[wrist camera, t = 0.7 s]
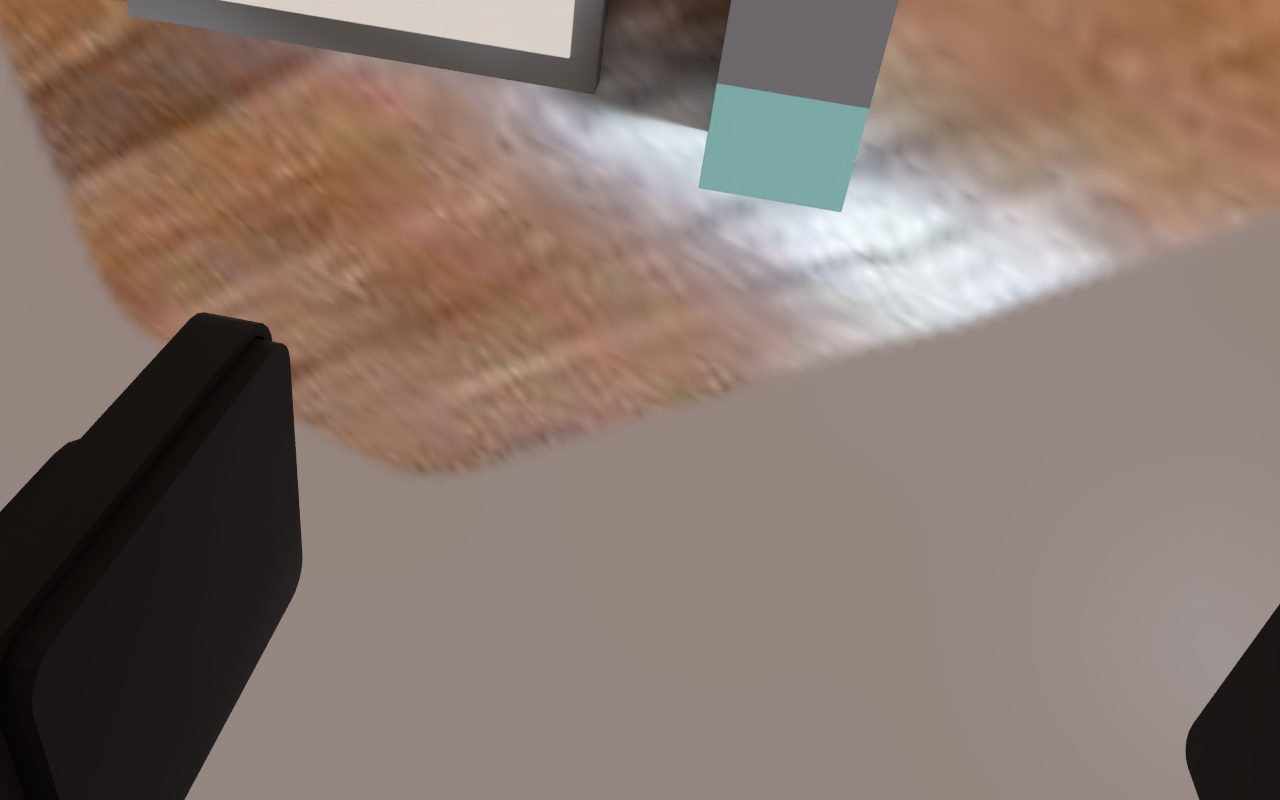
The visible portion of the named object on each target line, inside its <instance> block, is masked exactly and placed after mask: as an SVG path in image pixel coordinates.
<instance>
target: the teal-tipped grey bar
mask: <svg viewBox="0 0 1280 800" xmlns="http://www.w3.org/2000/svg"><path fill="white" fill-rule="evenodd" d="M897 3H898V0H731V4H730V9H729V15H728V21H727V27H726V32H725V38H724V44H723V50H722V55H721V61H720V67H719V72H718V78H717V84H716V90H715V95H714V101H713V107H712V113H711V118H710V124H709V130H708V136H707V141H706V147H705V153H704V159H703V165H702V171H701V176H700V182H699V188H702V189H707V190H713V191H719V192H725V193H731V194H737V195H743V196H749V197H755V198H760V199H766V200H772V201H778V202H784V203H790V204H796V205H802V206H808V207H814V208H819V209H825V210H831V211H837V212H841V211H842V207H843V203H844V200H845V196H846V192H847V189H848V185H849V181H850V178H851V174H852V170H853V166H854V163H855V159H856V155H857V152H858V148H859V144H860V140H861V137H862V133H863V129H864V126H865V122H866V118H867V114H868V111H869V107H870V103H871V100H872V96H873V92H874V88H875V85H876V81H877V77H878V74H879V70H880V66H881V62H882V59H883V55H884V51H885V48H886V44H887V40H888V37H889V33H890V29H891V25H892V22H893V18H894V14H895V11H896V7H897Z"/></svg>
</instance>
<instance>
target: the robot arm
mask: <svg viewBox="0 0 1280 800" xmlns="http://www.w3.org/2000/svg"><path fill="white" fill-rule="evenodd" d="M297 479H298V478H297V463H296V447H295V431H294V415H293V400H292V384H291V368H290V357H289V351H288V349H287V347H286V346H285V345H284V344H282V343H277V342H272V337H271V333H270V331H269V329H268V327H267V326H265V325H264V324H263V323H257V322H252V321H247V320H241V319H236V318H231V317H225V316H220V315H215V314H209V313H197V314H196V315H195V316H193V317H192V318H191V319H190V320H189V321H188V322H187V323H186V324H185V325H184V326H183V327H182V328H181V329H180V331H179V332H178V333H177V334H176V335H175V336H174V337H173V338H172V339H171V340H170V341H169V343H168V344H167V345H166V346H165V347H164V348H163V349H162V350H161V351H160V352H159V353H158V355H157V356H156V357H155V358H154V359H153V360H152V361H151V362H150V363H149V364H148V366H147V367H146V368H145V369H144V370H143V371H142V372H141V373H140V374H139V375H138V377H136V379H135V380H134V381H133V382H132V383H131V384H130V385H129V386H128V387H127V389H126V390H125V391H124V392H123V393H122V394H121V395H120V396H119V397H118V398H117V399H116V400H115V401H114V403H113V404H112V405H111V406H110V407H109V408H108V409H107V410H106V411H105V412H104V414H103V415H102V416H101V417H100V418H99V419H98V420H97V421H96V422H95V423H94V424H93V426H92V427H91V428H90V429H89V430H88V431H87V432H86V433H85V434H84V435H83V436H82V438H81V439H78V440H75V441H72V442H69V443H67V444H66V445H65V446H63V447H62V448H61V449H60V450H58V451H57V452H56V453H55V454H54V455H53V456H52V457H51V458H50V459H49V460H48V461H47V462H46V463H45V464H44V465H43V467H42V468H41V469H40V470H39V471H38V472H37V473H36V474H35V475H34V476H33V477H32V478H31V479H30V480H29V481H28V483H27V484H26V485H25V486H24V487H23V488H22V489H21V490H20V491H19V492H18V493H17V495H16V496H15V497H14V498H13V499H12V500H11V501H10V502H9V503H8V504H7V505H6V506H5V507H4V508H3V509H2V511H1V512H0V800H184V799H185V798H186V796H187V794H188V792H189V790H190V788H191V786H192V784H193V783H194V781H195V779H196V777H197V775H198V773H199V772H200V770H201V768H202V766H203V764H204V762H205V760H206V758H207V756H208V755H209V753H210V751H211V749H212V747H213V745H214V743H215V742H216V740H217V738H218V736H219V734H220V732H221V730H222V728H223V727H224V724H225V723H226V721H227V719H228V717H229V715H230V713H231V712H232V710H233V708H234V706H235V704H236V702H237V700H238V698H239V697H240V695H241V693H242V691H243V689H244V687H245V685H246V683H247V682H248V680H249V678H250V676H251V674H252V672H253V670H254V669H255V667H256V665H257V663H258V661H259V659H260V657H261V655H262V653H263V652H264V650H265V648H266V646H267V644H268V642H269V640H270V638H271V637H272V635H273V633H274V631H275V629H276V627H277V626H278V624H279V622H280V620H281V618H282V616H283V614H284V612H285V611H286V608H287V607H288V605H289V603H290V601H291V599H292V597H293V595H294V593H295V591H296V588H297V585H298V582H299V578H300V574H301V568H302V541H301V526H300V510H299V494H298V480H297ZM1186 761H1187V765H1188V769H1189V771H1190V775H1191V777H1192V780H1193V783H1194V786H1195V789H1196V791H1197V794H1198V797H1199V800H1280V604H1279V606H1278V607H1277V609H1276V610H1275V611H1274V613H1273V614H1272V615H1271V617H1270V619H1269V620H1268V621H1267V622H1266V624H1265V625H1264V627H1263V628H1262V629H1261V631H1260V632H1259V633H1258V635H1257V637H1256V638H1255V639H1254V640H1253V642H1252V643H1251V645H1250V646H1249V647H1248V649H1247V650H1246V651H1245V653H1244V654H1243V656H1242V657H1241V658H1240V660H1239V661H1238V662H1237V664H1236V665H1235V667H1234V668H1233V670H1232V671H1231V672H1230V674H1229V675H1228V677H1227V678H1226V679H1225V681H1224V682H1223V683H1222V685H1221V686H1220V687H1219V689H1218V690H1217V692H1216V693H1215V694H1214V696H1213V697H1212V698H1211V700H1210V701H1209V703H1208V704H1207V705H1206V707H1205V708H1204V709H1203V711H1202V712H1201V714H1200V715H1199V716H1198V718H1197V719H1196V721H1195V722H1194V723H1193V725H1192V727H1191V729H1190V731H1189V733H1188V737H1187V740H1186Z"/></svg>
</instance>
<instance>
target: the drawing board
mask: <svg viewBox="0 0 1280 800" xmlns="http://www.w3.org/2000/svg"><path fill="white" fill-rule="evenodd" d="M607 1H608V0H127V4H128V10H129V16H132V17H138V18H144V19H150V20H156V21H162V22H168V23H174V24H180V25H185V26H191V27H197V28H203V29H209V30H215V31H221V32H227V33H233V34H239V35H245V36H251V37H257V38H263V39H269V40H275V41H281V42H287V43H293V44H299V45H305V46H311V47H317V48H323V49H329V50H335V51H341V52H346V53H352V54H358V55H364V56H370V57H376V58H382V59H388V60H394V61H400V62H406V63H412V64H418V65H424V66H430V67H436V68H442V69H448V70H454V71H460V72H466V73H472V74H478V75H484V76H490V77H496V78H501V79H507V80H513V81H519V82H525V83H531V84H537V85H543V86H549V87H555V88H561V89H567V90H573V91H579V92H585V93H591V94H594V93H595V91H596V88H597V86H598V83H599V78H600V69H601V59H602V49H603V40H604V30H605V21H606V11H607Z"/></svg>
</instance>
